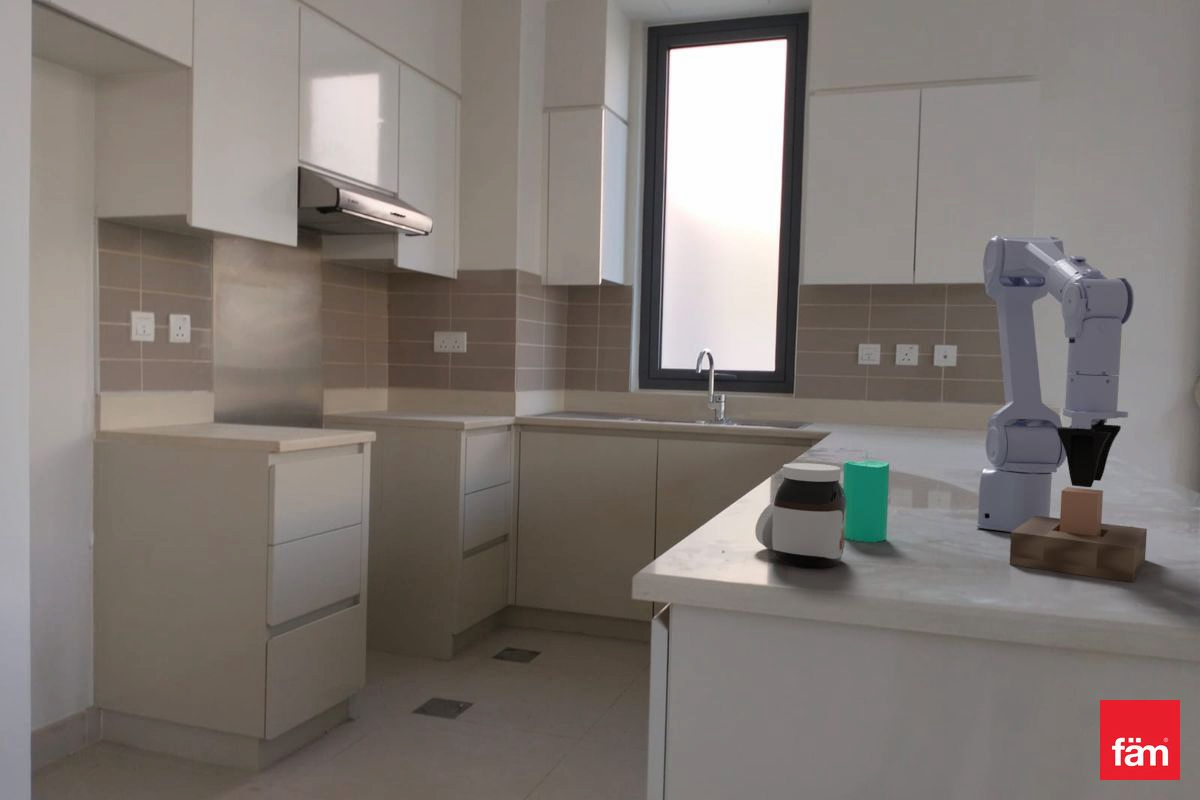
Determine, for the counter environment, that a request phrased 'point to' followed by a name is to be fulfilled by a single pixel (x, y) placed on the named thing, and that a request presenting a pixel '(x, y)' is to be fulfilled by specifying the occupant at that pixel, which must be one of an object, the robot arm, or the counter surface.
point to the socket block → (1079, 549)
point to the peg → (1081, 511)
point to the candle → (866, 500)
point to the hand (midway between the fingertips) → (1086, 483)
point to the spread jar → (806, 517)
